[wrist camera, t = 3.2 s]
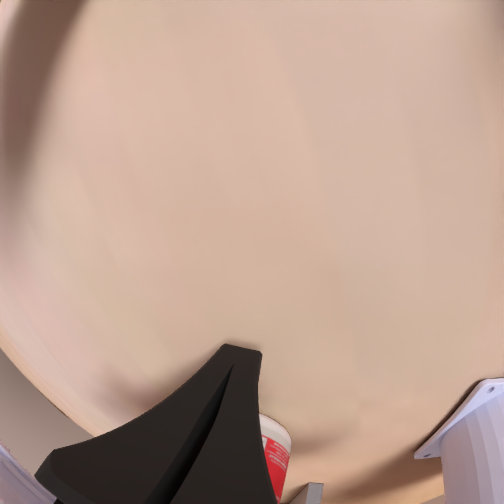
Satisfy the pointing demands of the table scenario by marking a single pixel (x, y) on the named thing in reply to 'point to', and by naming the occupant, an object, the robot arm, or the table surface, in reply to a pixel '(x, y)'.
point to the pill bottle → (275, 451)
